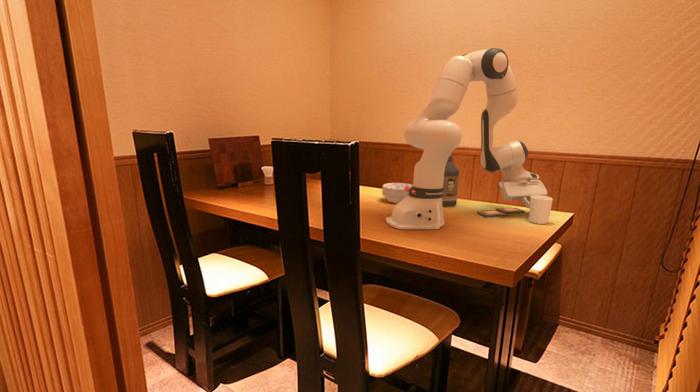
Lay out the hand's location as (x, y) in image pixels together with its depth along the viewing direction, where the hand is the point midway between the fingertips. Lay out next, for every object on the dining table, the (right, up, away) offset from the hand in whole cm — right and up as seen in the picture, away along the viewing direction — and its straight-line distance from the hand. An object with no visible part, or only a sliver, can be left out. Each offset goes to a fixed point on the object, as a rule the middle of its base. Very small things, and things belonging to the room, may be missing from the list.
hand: (531, 207), depth 150 cm
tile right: (-3, -2, +12) cm, 13 cm away
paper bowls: (-51, +2, +28) cm, 58 cm away
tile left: (-14, -3, +6) cm, 16 cm away
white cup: (+1, -6, -3) cm, 7 cm away
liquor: (-30, 0, +23) cm, 37 cm away
